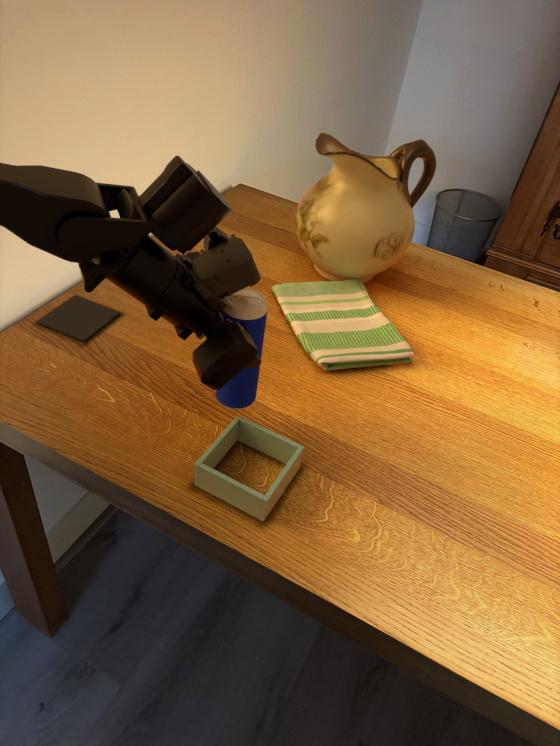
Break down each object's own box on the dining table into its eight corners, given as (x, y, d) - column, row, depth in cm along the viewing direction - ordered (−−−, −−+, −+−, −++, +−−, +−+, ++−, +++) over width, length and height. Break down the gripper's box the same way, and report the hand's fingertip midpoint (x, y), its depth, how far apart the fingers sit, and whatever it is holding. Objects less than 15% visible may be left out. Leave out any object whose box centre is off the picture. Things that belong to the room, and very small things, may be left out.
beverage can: (259, 389, 71) (273, 292, 62) (250, 416, 67) (262, 316, 58) (221, 380, 72) (229, 282, 62) (209, 406, 68) (215, 306, 58)
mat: (84, 342, 83) (83, 340, 83) (36, 323, 85) (36, 321, 85) (120, 313, 89) (120, 311, 89) (75, 296, 91) (75, 294, 91)
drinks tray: (263, 522, 63) (266, 501, 60) (194, 485, 65) (194, 463, 63) (300, 467, 69) (304, 446, 67) (235, 435, 72) (237, 414, 70)
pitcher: (271, 276, 104) (287, 142, 87) (313, 230, 121) (333, 110, 104) (383, 313, 99) (423, 177, 82) (410, 259, 116) (448, 137, 100)
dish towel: (359, 286, 105) (362, 274, 103) (415, 364, 88) (420, 351, 87) (270, 292, 99) (272, 279, 98) (313, 376, 83) (316, 362, 81)
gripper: (246, 271, 46) (336, 354, 57) (190, 182, 59) (272, 264, 70) (154, 356, 48) (258, 420, 59) (119, 253, 61) (210, 321, 72)
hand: (250, 350), depth 65 cm, fingers closed on beverage can, 5 cm apart
